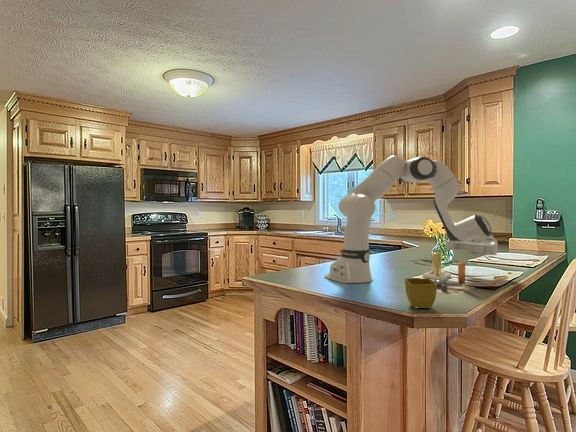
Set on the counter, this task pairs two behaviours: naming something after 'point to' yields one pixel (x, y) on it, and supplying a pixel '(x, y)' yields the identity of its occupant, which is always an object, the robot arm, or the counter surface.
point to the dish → (442, 277)
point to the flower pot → (420, 292)
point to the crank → (460, 277)
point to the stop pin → (436, 264)
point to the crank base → (453, 289)
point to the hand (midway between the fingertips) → (464, 248)
